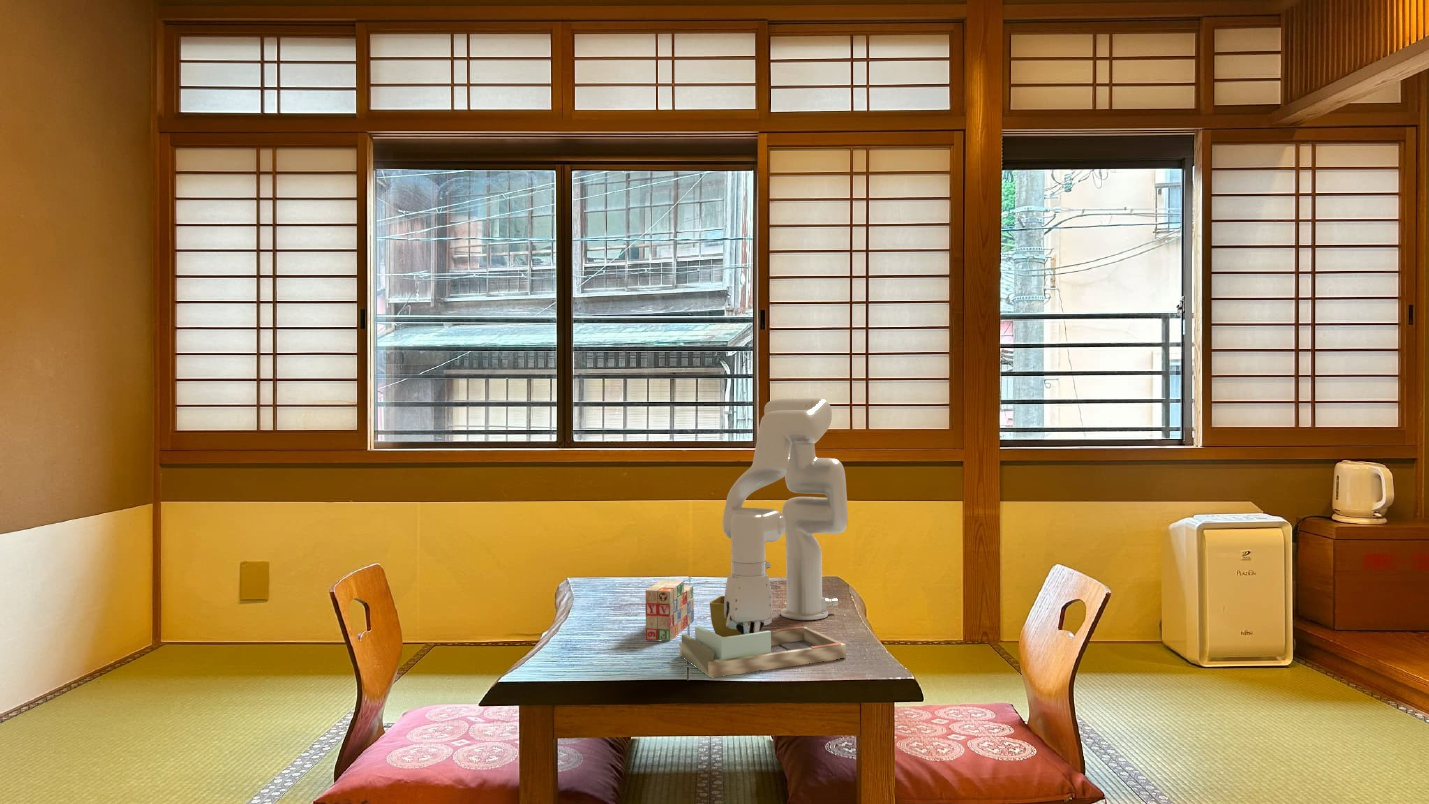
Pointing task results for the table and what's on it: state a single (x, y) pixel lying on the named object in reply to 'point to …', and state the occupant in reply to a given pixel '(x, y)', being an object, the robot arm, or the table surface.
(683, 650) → the box
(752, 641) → the l-shaped corner panel
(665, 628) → the stack of blocks
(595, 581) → the table surface
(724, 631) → the flower pot
